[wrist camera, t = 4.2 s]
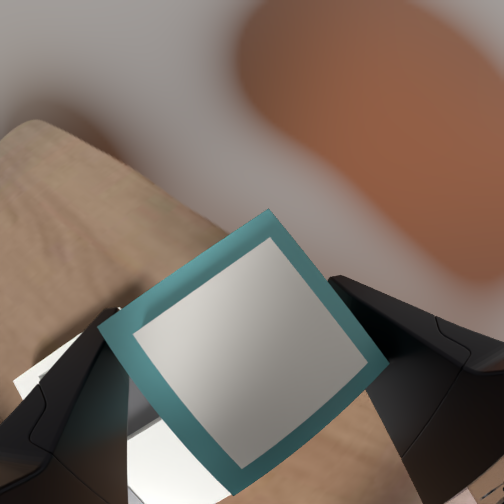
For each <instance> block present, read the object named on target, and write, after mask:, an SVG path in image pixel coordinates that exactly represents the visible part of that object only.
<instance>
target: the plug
mask: <svg viewBox="0 0 504 504" xmlns="http://www.w3.org/2000/svg"><path fill="white" fill-rule="evenodd" d="M97 328H98V329H99V331H100V333H101V334H102V336H103V337H104V339H105V340H106V342H107V344H108V345H109V347H110V348H111V350H112V351H113V353H114V354H115V356H116V357H117V359H118V360H119V362H120V363H121V365H122V366H123V368H124V369H125V370H126V372H127V373H128V375H129V376H130V378H131V379H132V380H133V382H134V383H135V384H136V386H137V387H138V389H139V390H140V391H141V393H142V394H143V395H144V397H145V398H146V399H147V401H148V402H149V403H150V404H151V406H152V407H153V408H154V410H155V411H156V412H157V413H158V415H159V416H160V417H161V418H162V420H163V421H164V422H165V423H166V424H167V426H168V427H169V428H170V429H171V430H172V432H173V433H174V434H175V435H176V436H177V438H178V439H179V440H180V441H181V442H182V443H183V444H184V446H185V447H186V448H187V449H188V450H189V451H190V452H191V453H192V454H193V456H194V457H195V458H196V459H197V460H198V461H199V462H200V463H201V464H202V465H203V466H204V467H205V468H206V469H207V470H208V472H209V473H210V474H211V475H212V476H213V477H214V478H215V479H216V480H217V481H218V482H219V483H220V484H221V485H222V486H223V487H224V488H225V489H226V490H228V491H229V492H230V493H231V494H232V495H233V496H234V495H236V494H237V493H239V492H240V491H242V490H243V489H245V488H246V487H248V486H249V485H251V484H252V483H254V482H255V481H257V480H258V479H259V478H261V477H262V476H264V475H265V474H266V473H268V472H269V471H271V470H272V469H273V468H275V467H276V466H277V465H279V464H280V463H281V462H283V461H284V460H285V459H286V458H288V457H289V456H290V455H292V454H293V453H294V452H295V451H297V450H298V449H299V448H300V447H302V446H303V445H304V444H305V443H307V442H308V441H309V440H310V439H311V438H313V437H314V436H315V435H316V434H317V433H318V432H320V431H321V430H322V429H323V428H324V427H325V426H326V425H328V424H329V423H330V422H331V421H332V420H333V419H334V418H335V417H337V416H338V415H339V414H340V413H341V412H342V411H343V410H344V409H345V408H346V407H347V406H348V405H349V404H350V403H352V402H353V401H354V400H355V399H356V398H357V397H358V396H359V395H360V394H361V393H362V392H363V391H364V390H365V389H366V388H367V387H368V386H369V385H370V384H371V383H372V382H373V381H374V380H375V379H376V378H377V377H378V375H379V374H380V373H381V372H382V371H383V370H384V369H385V368H386V367H387V366H388V365H389V364H390V363H389V362H388V361H387V359H386V358H385V356H384V355H383V354H382V352H381V351H380V350H379V348H378V347H377V346H376V344H375V343H374V342H373V340H372V339H371V338H370V336H369V335H368V334H367V332H366V331H365V330H364V328H363V327H362V326H361V324H360V323H359V322H358V320H357V319H356V318H355V316H354V315H353V314H352V313H351V311H350V310H349V309H348V307H347V306H346V305H345V303H344V302H343V301H342V300H341V298H340V297H339V296H338V294H337V293H336V292H335V291H334V289H333V288H332V287H331V285H330V284H329V283H328V282H327V280H326V279H325V278H324V276H323V275H322V274H321V273H320V271H319V270H318V269H317V268H316V266H315V265H314V264H313V263H312V261H311V260H310V259H309V258H308V256H307V255H306V254H305V253H304V251H303V250H302V249H301V248H300V246H299V245H298V244H297V243H296V241H295V240H294V239H293V238H292V237H291V235H290V234H289V233H288V231H287V230H286V229H285V228H284V227H283V225H282V224H281V223H280V222H279V220H278V219H277V218H276V217H275V216H274V214H273V213H272V212H271V211H270V210H269V209H267V210H266V211H264V212H263V213H261V214H260V215H258V216H257V217H255V218H254V219H252V220H251V221H249V222H248V223H246V224H245V225H243V226H242V227H240V228H239V229H237V230H236V231H234V232H233V233H231V234H230V235H228V236H227V237H225V238H224V239H222V240H221V241H219V242H218V243H216V244H215V245H213V246H212V247H210V248H209V249H207V250H206V251H204V252H203V253H202V254H200V255H199V256H197V257H196V258H194V259H193V260H191V261H190V262H188V263H187V264H185V265H184V266H183V267H181V268H180V269H178V270H177V271H175V272H174V273H172V274H171V275H170V276H168V277H167V278H165V279H164V280H162V281H161V282H159V283H158V284H157V285H155V286H154V287H152V288H151V289H149V290H148V291H147V292H145V293H144V294H142V295H141V296H139V297H138V298H137V299H135V300H134V301H132V302H131V303H130V304H128V305H127V306H125V307H124V308H122V309H121V310H120V311H118V312H117V313H115V314H114V315H113V316H111V317H110V318H108V319H107V320H106V321H104V322H103V323H101V324H100V325H99V326H97Z"/></svg>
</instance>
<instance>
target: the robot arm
mask: <svg viewBox="0 0 504 504" xmlns="http://www.w3.org/2000/svg"><path fill="white" fill-rule="evenodd" d="M327 282H328V283H329V284H330V285H331V287H332V288H333V289H334V291H335V292H336V293H337V294H338V296H339V297H340V298H341V300H342V301H343V302H344V303H345V305H346V306H347V307H348V309H349V310H350V311H351V313H352V314H353V315H354V316H355V318H356V319H357V320H358V322H359V323H360V324H361V326H362V327H363V328H364V330H365V331H366V332H367V334H368V335H369V336H370V338H371V339H372V340H373V342H374V343H375V344H376V346H377V347H378V348H379V350H380V351H381V352H382V354H383V355H384V356H385V358H386V359H387V361H388V362H389V363H390V364H389V365H388V366H387V367H386V368H385V369H384V370H383V371H382V372H381V373H380V374H379V375H378V377H377V378H376V379H375V380H374V381H373V382H372V383H371V384H370V385H369V386H368V387H367V388H366V389H365V390H366V392H367V393H368V395H369V397H370V399H371V401H372V403H373V405H374V407H375V409H376V411H377V412H378V414H379V416H380V418H381V420H382V422H383V424H384V426H385V428H386V430H387V432H388V434H389V436H390V438H391V440H392V442H393V444H394V446H395V447H396V449H397V451H398V453H399V455H400V457H401V460H402V462H403V464H404V466H405V468H406V470H407V472H408V474H409V476H410V478H411V480H412V482H413V484H414V486H415V488H416V490H417V492H418V494H419V496H420V498H421V500H422V503H423V504H446V503H447V502H449V501H450V500H452V499H453V498H455V497H456V496H458V495H459V494H461V493H462V492H464V491H465V490H466V489H469V491H470V493H471V494H472V496H473V497H474V499H475V501H476V502H477V504H504V342H502V341H499V340H496V339H493V338H490V337H488V336H485V335H482V334H480V333H477V332H474V331H471V330H469V329H466V328H463V327H460V326H458V325H456V324H454V323H451V322H449V321H446V320H444V319H442V318H440V317H437V316H434V315H433V314H430V313H428V312H426V311H424V310H421V309H419V308H417V307H414V306H412V305H410V304H408V303H405V302H402V301H401V300H398V299H396V298H394V297H391V296H389V295H387V294H384V293H382V292H380V291H377V290H375V289H373V288H371V287H368V286H366V285H364V284H361V283H359V282H357V281H354V280H352V279H350V278H347V277H345V276H342V275H338V276H332V277H330V278H329V279H328V281H327ZM118 311H120V309H119V308H118V307H113V308H105V309H104V310H103V311H102V312H101V313H100V314H99V315H98V316H97V317H96V318H95V319H94V320H93V321H92V323H91V324H90V325H89V326H88V327H87V328H86V329H85V330H84V331H83V332H82V333H81V334H80V336H79V337H78V338H77V339H76V340H75V341H74V342H73V343H72V344H71V346H70V347H69V348H68V349H67V350H66V351H65V352H64V353H63V355H62V356H61V357H60V358H59V359H58V360H57V361H56V363H55V364H54V365H53V366H52V367H51V368H50V369H49V371H48V372H47V373H46V374H45V375H44V376H43V378H42V379H41V380H40V381H39V384H37V385H36V386H35V387H34V388H33V389H32V391H31V392H30V393H29V394H28V395H27V396H26V397H25V399H24V400H23V401H22V402H21V403H20V404H19V406H18V407H17V408H16V409H15V410H14V411H13V412H12V413H11V414H10V415H9V416H8V417H7V418H6V419H5V420H4V421H3V422H2V423H1V424H0V504H128V480H127V428H128V401H129V375H128V373H127V372H126V370H125V369H124V368H123V366H122V365H121V363H120V362H119V360H118V359H117V357H116V356H115V354H114V353H113V351H112V350H111V348H110V347H109V345H108V344H107V342H106V340H105V339H104V337H103V336H102V334H101V333H100V331H99V329H98V328H97V326H99V325H100V324H101V323H103V322H104V321H106V320H107V319H108V318H110V317H111V316H113V315H114V314H115V313H117V312H118Z"/></svg>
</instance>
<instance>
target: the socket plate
mask: <svg viewBox="0 0 504 504" xmlns="http://www.w3.org/2000/svg"><path fill="white" fill-rule="evenodd" d="M119 309H120V310H121V309H122V308H120V307H119ZM80 334H81V333H80ZM80 334H79V335H77V336H76V337H75V338H73V339H72V340H70V341H69V342H67V343H66V344H65V345H63V346H62V347H60V348H59V349H57V350H56V351H54V352H53V353H52V354H50V355H49V356H47V357H46V358H45V359H43V360H42V361H40V362H39V363H37V364H36V365H35V366H33V367H32V368H30V369H29V370H28V371H26V372H25V373H23V374H22V375H21V376H19V377H18V378H16V379H15V380H14V381H13V382H14V384H15V386H16V388H17V389H18V391H19V393H20V395H21V397H22V399H23V400H24V399H25V397H26V396H27V395H28V394H29V393H30V392H31V391H32V389H33V388H34V387H35V386H36V385H37V384H39V381H40V380H41V379H42V378H43V376H44V375H45V374H46V373H47V372H48V371H49V369H50V368H51V367H52V366H53V365H54V364H55V363H56V361H57V360H58V359H59V358H60V357H61V356H62V355H63V353H64V352H65V351H66V350H67V349H68V348H69V347H70V346H71V344H72V343H73V342H74V341H75V340H76V339H77V338H78V337H79V336H80ZM127 480H128V504H215V503H217V502H219V501H220V500H222V499H224V498H226V497H227V496H229V495H231V493H230V492H229V491H228V490H226V489H225V488H224V487H223V486H222V485H221V484H220V483H219V482H218V481H217V480H216V479H215V478H214V477H213V476H212V475H211V474H210V473H209V472H208V470H207V469H206V468H205V467H204V466H203V465H202V464H201V463H200V462H199V461H198V460H197V459H196V458H195V457H194V456H193V454H192V453H191V452H190V451H189V450H188V449H187V448H186V447H185V446H184V444H183V443H182V442H181V441H180V440H179V439H178V438H177V436H176V435H175V434H174V433H173V432H172V430H171V429H170V428H169V427H168V426H167V424H166V423H165V422H164V421H163V420H162V418H161V417H160V416H159V415H158V413H157V412H156V411H155V410H154V408H153V407H152V406H151V404H150V403H149V402H148V401H147V399H146V398H145V397H144V395H143V394H142V393H141V391H140V390H139V389H138V387H137V386H136V384H135V383H134V382H133V380H132V379H131V378H130V376H129V401H128V428H127Z"/></svg>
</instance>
